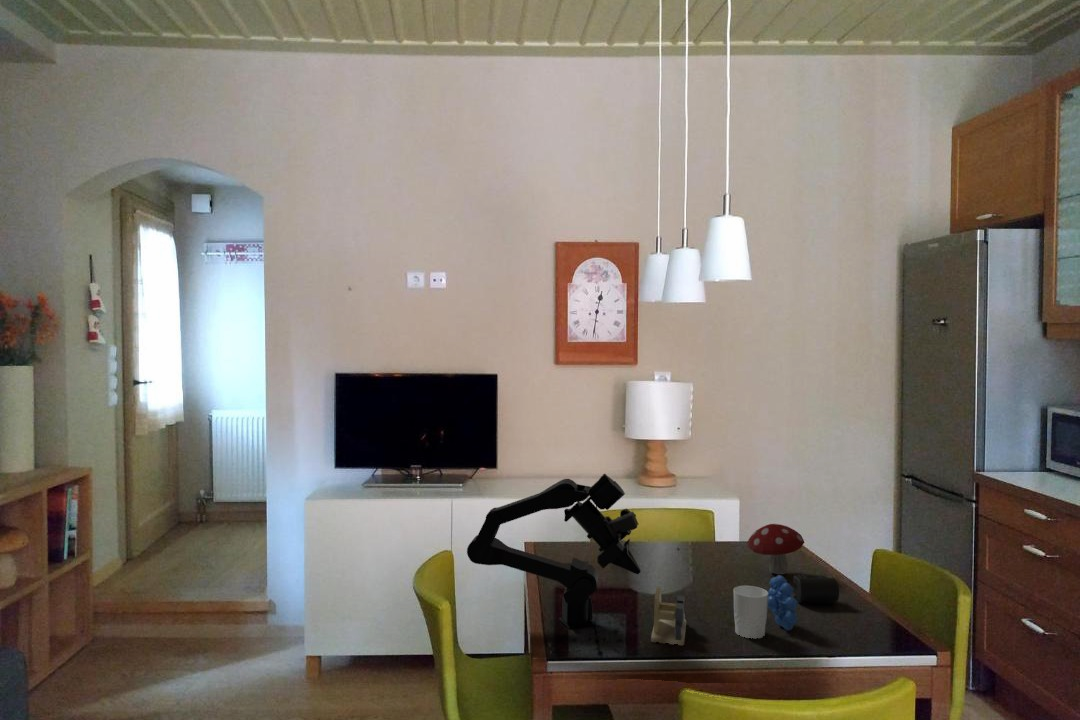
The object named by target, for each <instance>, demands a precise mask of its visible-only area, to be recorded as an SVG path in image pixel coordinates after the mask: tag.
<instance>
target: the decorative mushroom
mask: <svg viewBox="0 0 1080 720" xmlns="http://www.w3.org/2000/svg"><path fill="white" fill-rule="evenodd" d="M804 544H805V540H804V538H803V536H802V534H800V532H798V531H797V530H795V529H793V528H792V527H790V526H787V525H783V524H779V523H769V524H767V525H763V526H761V527H760V528H758V529H756V530H755V531H754V532H753V533H752V534H751V535H750V536H749V538H748V540H747V546H748V549H749V550H750V551H752V552H753V553H754V554H758V555H759V554H760V555H762V556H770V559H769V568H768V569H769V570H768V571H769V572H770V573H772V574H775V575H785V574H787V573H788V561H787V557H786V555H787V554H791V553H794V552H797V551H798V550H800V549H801V548H802V547H803V546H804Z"/></svg>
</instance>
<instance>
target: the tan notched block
mask: <svg viewBox="0 0 1080 720" xmlns="http://www.w3.org/2000/svg"><path fill="white" fill-rule="evenodd" d="M662 587H663V586H657V587H656V591H655V595H654V605H653V606H654V609H653V610H654V612H653V613H654V614H653V615H654V616H653V627H654V632H656V633H658V631H659V627H660V622H661V619H662V620H671V621H674V619H675V613H676V603H672V602H664V601H662Z"/></svg>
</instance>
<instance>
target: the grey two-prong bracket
mask: <svg viewBox="0 0 1080 720" xmlns="http://www.w3.org/2000/svg"><path fill="white" fill-rule="evenodd" d="M675 604H676V612H675V628H674V636H675V640H681V637H682V635H683V625H684V620H686V619H685V615H686V614H685V595H677V597H676V603H675Z"/></svg>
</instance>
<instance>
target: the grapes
mask: <svg viewBox="0 0 1080 720" xmlns="http://www.w3.org/2000/svg"><path fill="white" fill-rule="evenodd" d="M768 586H770V588H768V591H767V592H768V607H767V608H769V610H770V612H772V614H773V615H775V617H774V621H775V622H776V624H777V625H778V626H779V627H782V628H783V629H784V630H786V631H791V630H792V629H793V627H794V625H795V624H796V623H797V621H798V620H799V619H798V618H799V616H798V614H797V613H796V612H795V611H796V609H797V607H798V604H799V603H798V602H797V601H796V600H795V599H794V598H793V596H792V595H793V594H794V592H793V586H792V585H791V584H790V583H789V582H788V581H787V579H786V578H785V577H784V576H783V575H782V574H777V575H776V576H775V577H774V576H773V577H771V578H770V580H769V585H768Z"/></svg>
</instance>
